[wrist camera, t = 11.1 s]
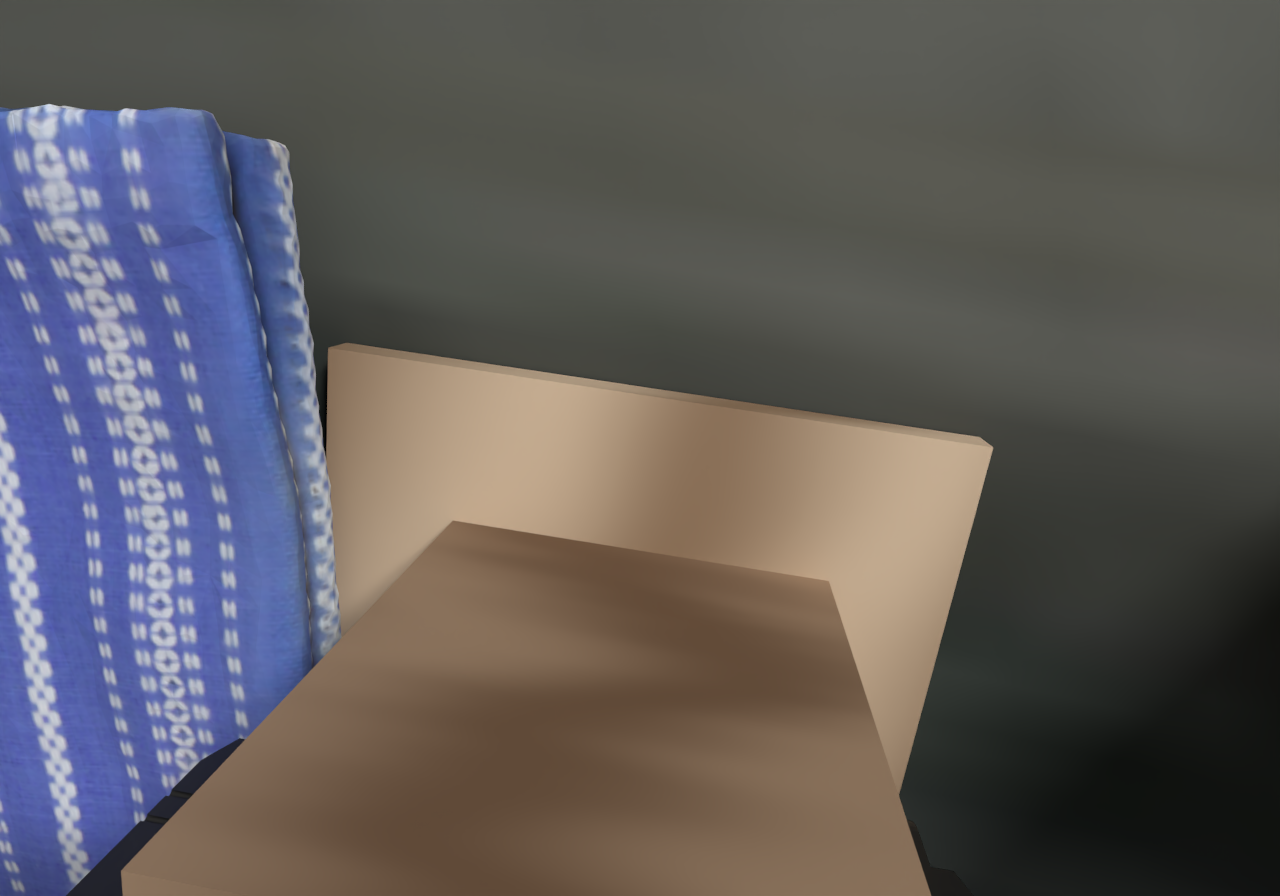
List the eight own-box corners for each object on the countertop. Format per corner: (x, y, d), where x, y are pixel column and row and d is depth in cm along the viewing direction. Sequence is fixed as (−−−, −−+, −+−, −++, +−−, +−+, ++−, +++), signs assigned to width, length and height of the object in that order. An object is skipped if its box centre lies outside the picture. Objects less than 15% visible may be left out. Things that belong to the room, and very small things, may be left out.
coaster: (979, 437, 12) (993, 447, 11) (834, 984, 15) (839, 1015, 14) (346, 343, 12) (328, 347, 12) (333, 886, 15) (319, 913, 15)
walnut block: (828, 581, 12) (976, 1036, 5) (761, 887, 13) (805, 1541, 7) (452, 520, 12) (120, 870, 5) (432, 826, 14) (160, 1387, 7)
